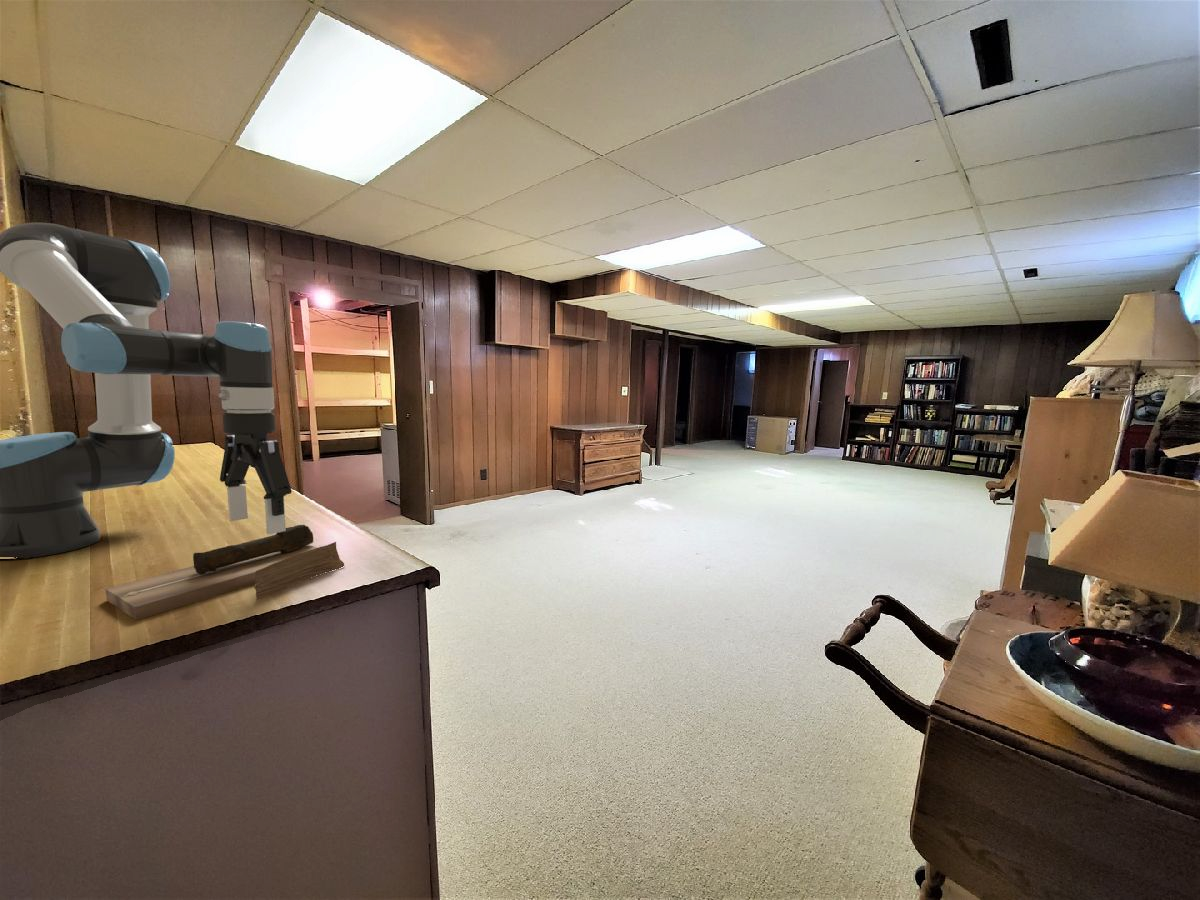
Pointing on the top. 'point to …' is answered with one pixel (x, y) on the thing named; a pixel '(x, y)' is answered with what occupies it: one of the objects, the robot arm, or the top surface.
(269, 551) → the dark brown rod
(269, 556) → the board
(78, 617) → the top surface
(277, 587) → the wood plank
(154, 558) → the top surface
